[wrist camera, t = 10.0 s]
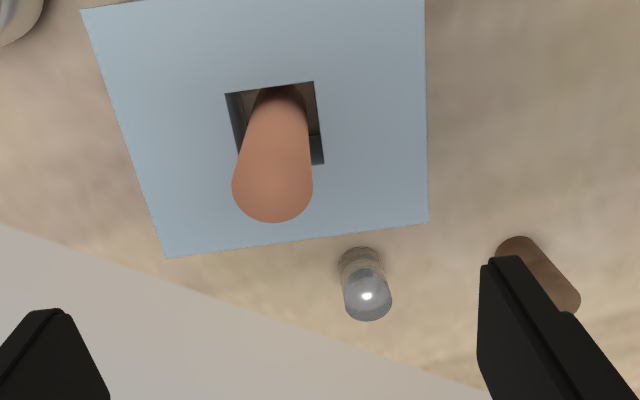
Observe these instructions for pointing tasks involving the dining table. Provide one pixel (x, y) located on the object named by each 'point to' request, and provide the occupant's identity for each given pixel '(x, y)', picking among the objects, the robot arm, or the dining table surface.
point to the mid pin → (543, 272)
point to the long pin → (275, 158)
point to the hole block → (260, 72)
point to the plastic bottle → (17, 18)
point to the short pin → (364, 284)
